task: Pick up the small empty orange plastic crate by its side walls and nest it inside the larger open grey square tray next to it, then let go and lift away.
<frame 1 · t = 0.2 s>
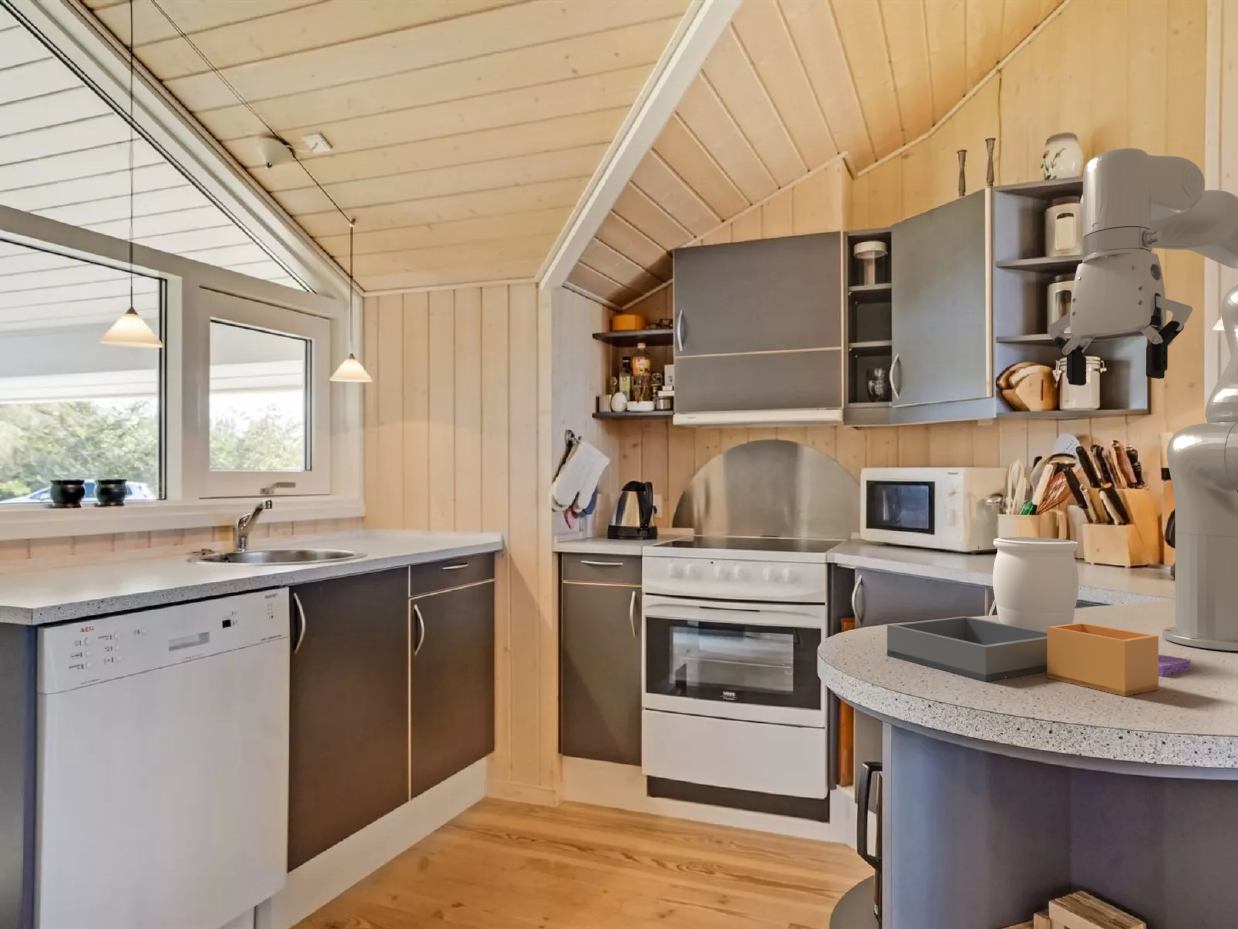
hand: (1114, 381, 104), 36 cm above the worktop, tool pointing down, fingers open, 9 cm apart
grey square tray: (974, 661, 104), on the worktop
sponges: (1123, 668, 104), on the worktop
small crate: (1101, 683, 93), on the worktop
jar: (1034, 648, 112), on the worktop
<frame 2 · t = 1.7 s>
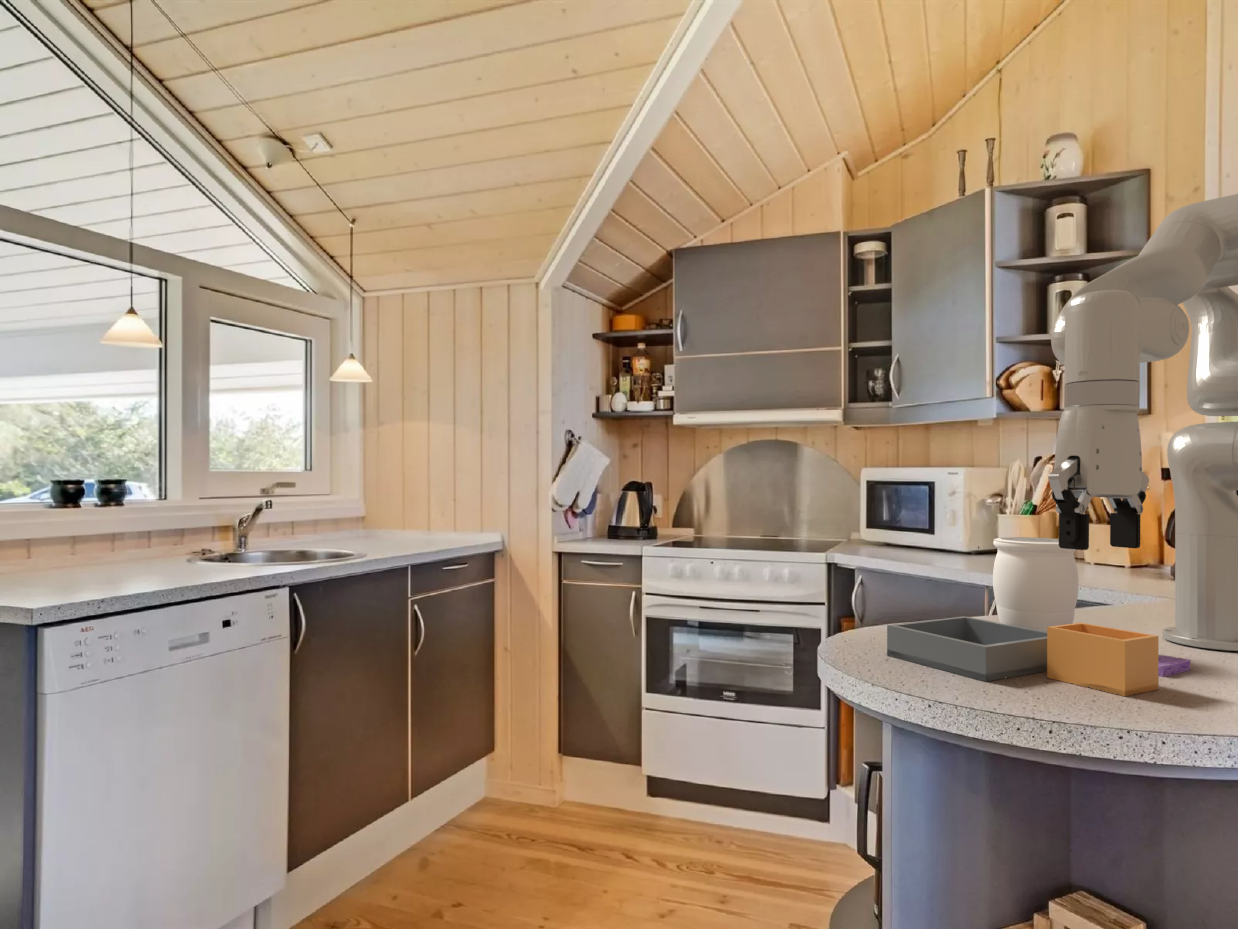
hand: (1099, 548, 93), 16 cm above the worktop, tool pointing down, fingers open, 9 cm apart
nothing on the worktop moved.
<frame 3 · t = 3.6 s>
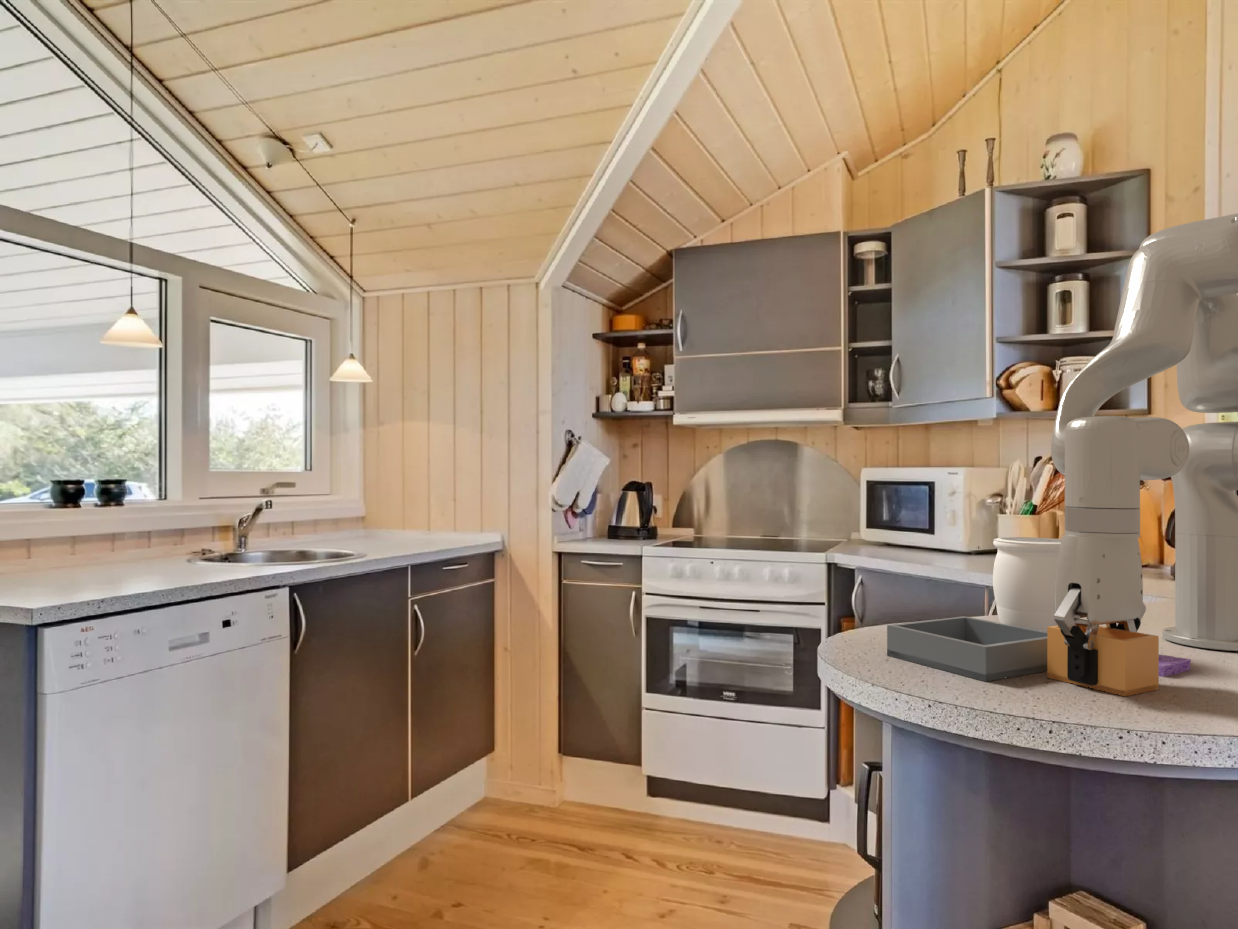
hand: (1101, 677, 93), 1 cm above the worktop, tool pointing down, fingers closed on small crate, 6 cm apart
small crate: (1101, 683, 93), on the worktop, touching gripper
everything else where it was.
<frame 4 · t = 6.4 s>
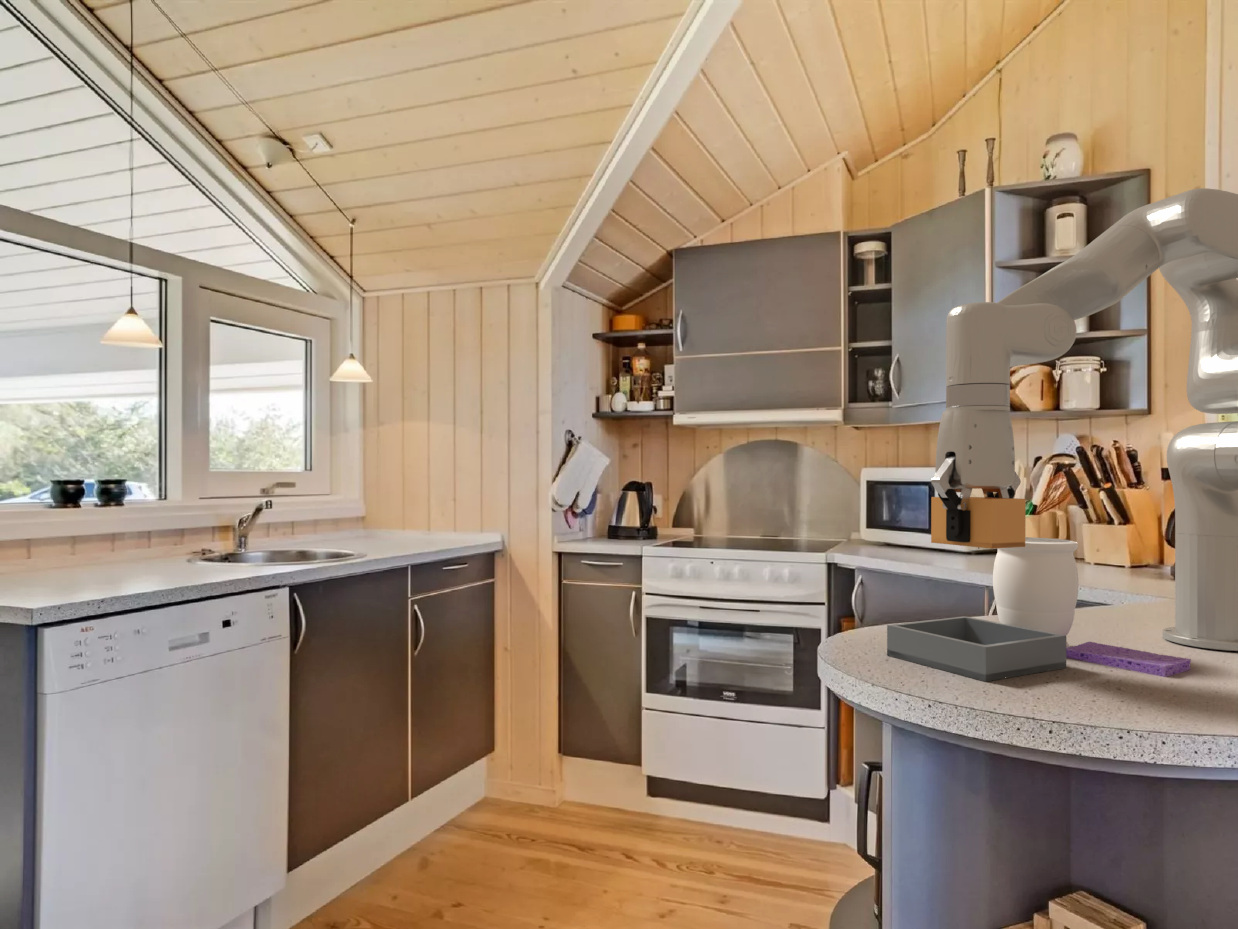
hand: (977, 539, 103), 16 cm above the worktop, tool pointing down, fingers closed on small crate, 6 cm apart
small crate: (977, 544, 103), point 15 cm above the worktop, touching gripper
everything else where it was.
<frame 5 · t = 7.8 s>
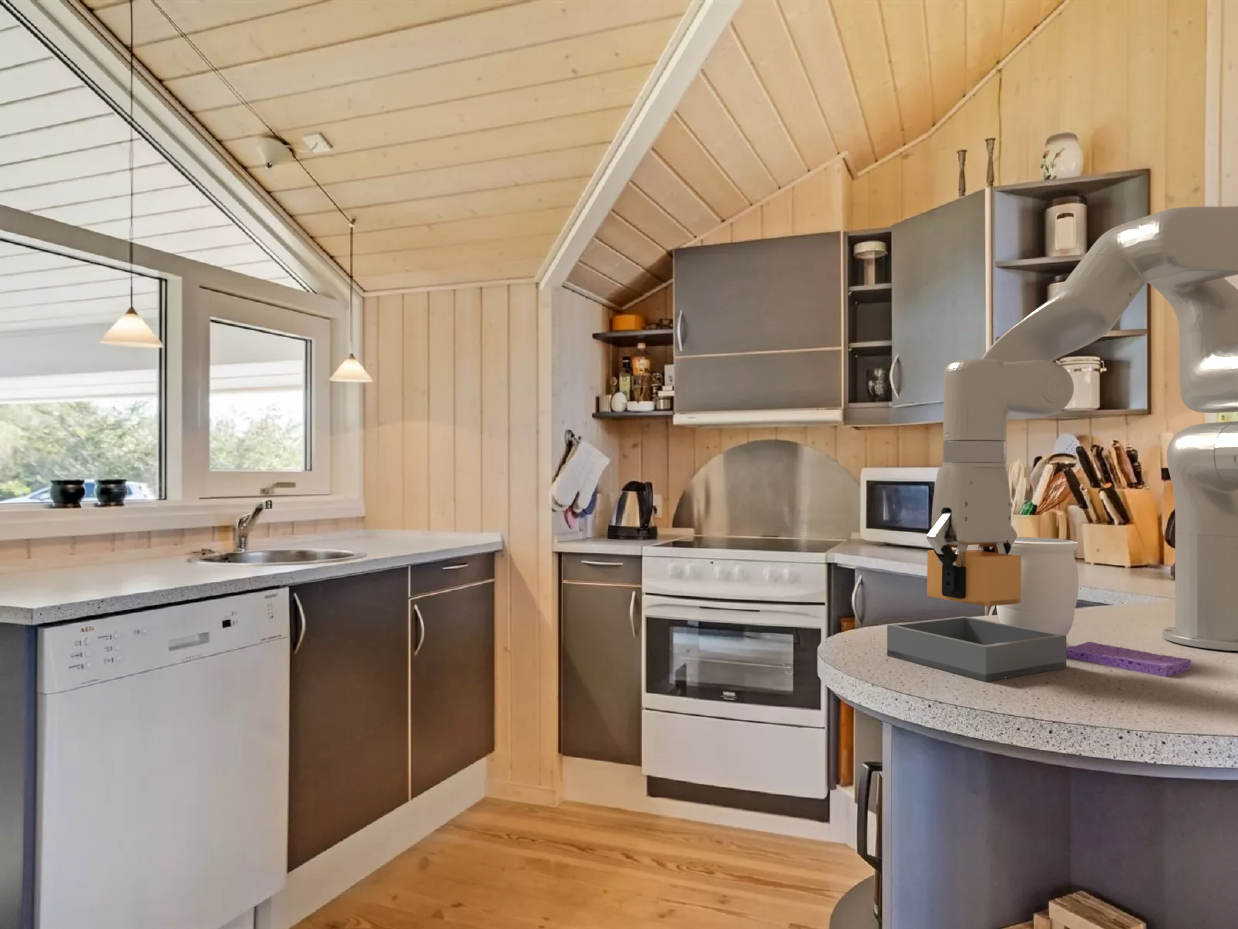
hand: (972, 594, 104), 9 cm above the worktop, tool pointing down, fingers closed on small crate, 6 cm apart
small crate: (972, 599, 104), point 8 cm above the worktop, touching gripper
everything else where it was.
when the fingers open (3 cm above the worktop, at t = 9.2 s): small crate drops 2 cm, resting on grey square tray.
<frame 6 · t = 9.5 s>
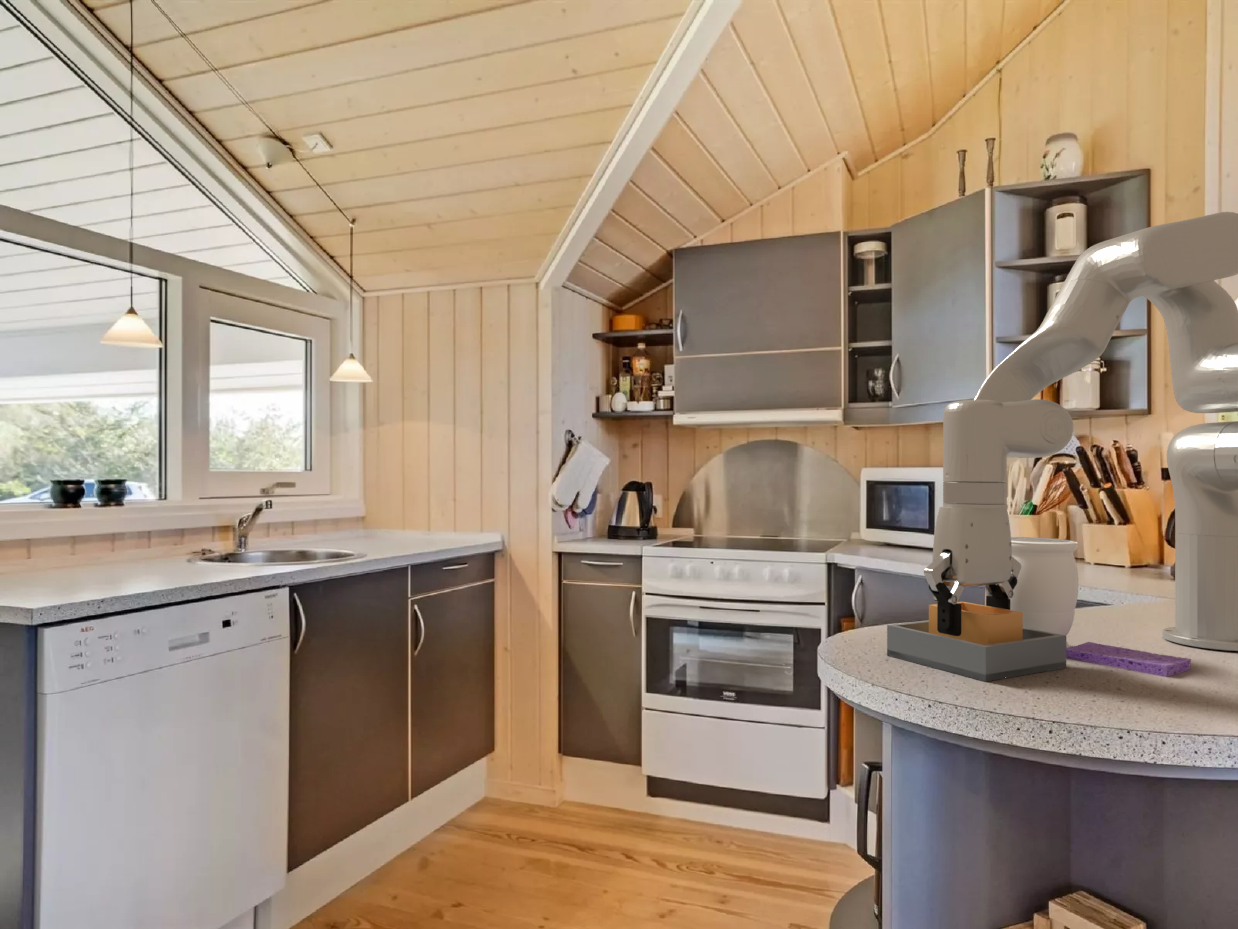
hand: (974, 630, 104), 4 cm above the worktop, tool pointing down, fingers open, 8 cm apart
small crate: (974, 655, 104), point 1 cm above the worktop, touching grey square tray
everything else where it was.
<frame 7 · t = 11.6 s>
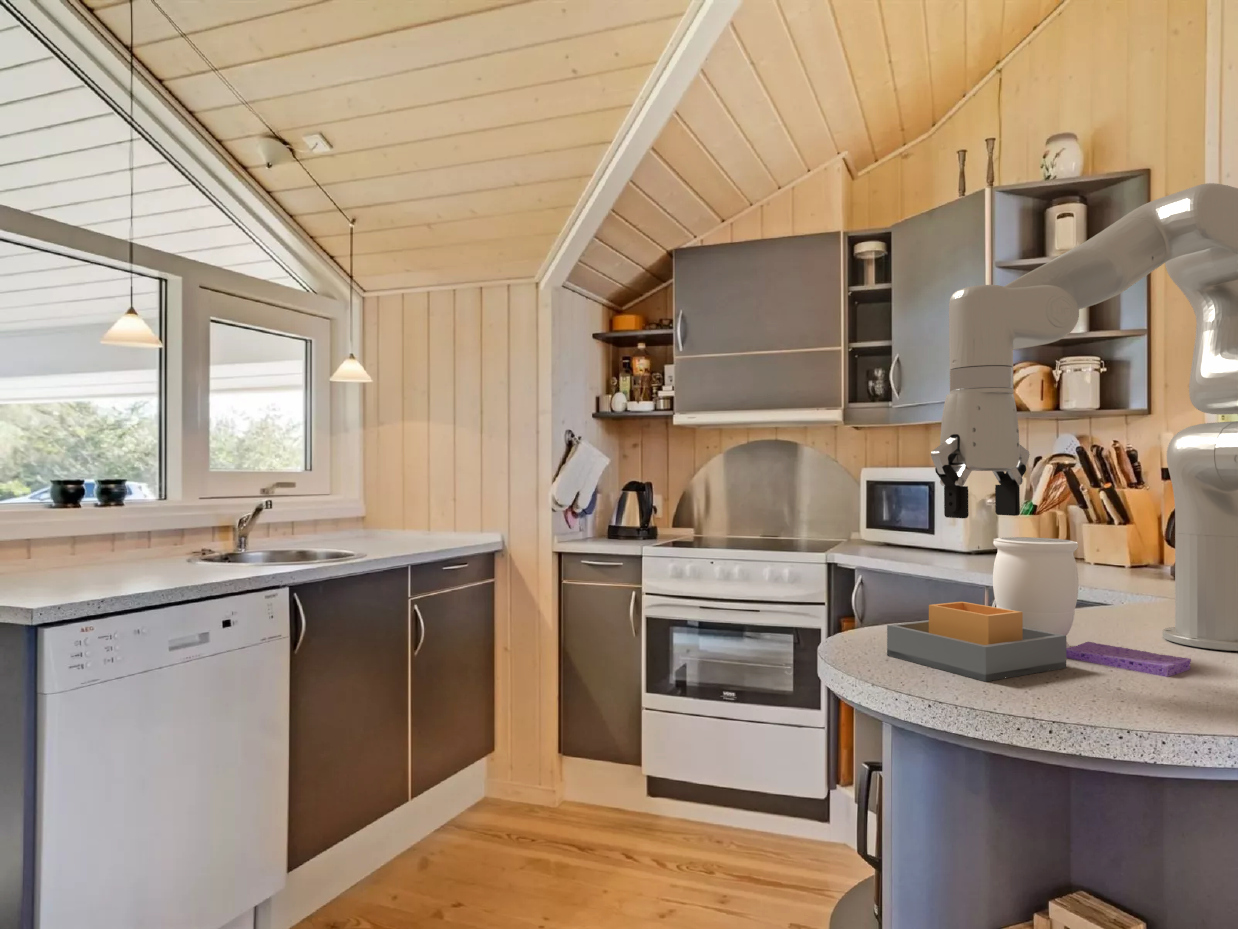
hand: (982, 516, 104), 19 cm above the worktop, tool pointing down, fingers open, 9 cm apart
nothing on the worktop moved.
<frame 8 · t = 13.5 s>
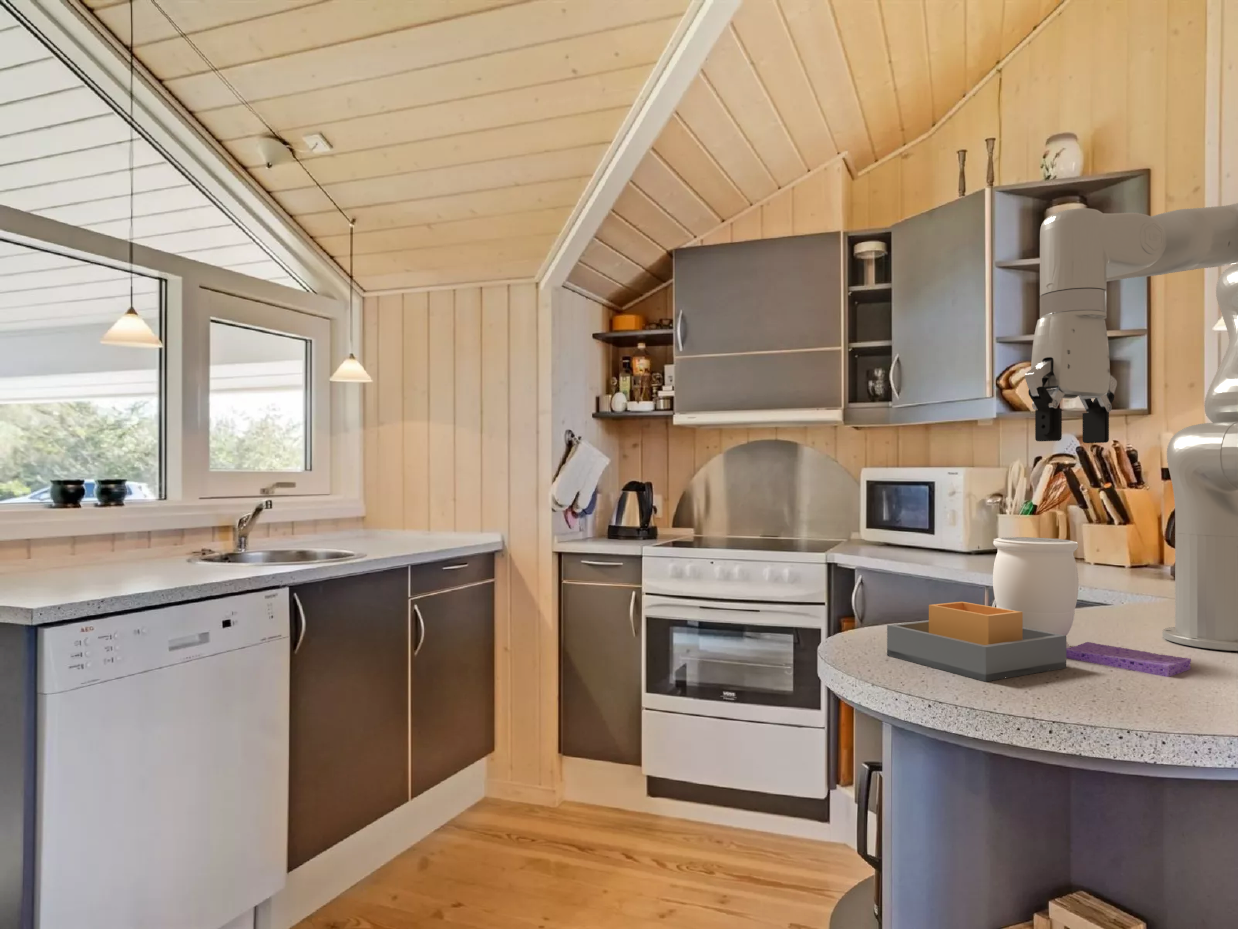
hand: (1072, 441, 104), 28 cm above the worktop, tool pointing down, fingers open, 9 cm apart
nothing on the worktop moved.
at the end: small crate 0.0 cm off-centre on the grey square tray, point 0.8 cm above the grey square tray's base; small crate tilted 0°; the gripper is holding nothing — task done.
